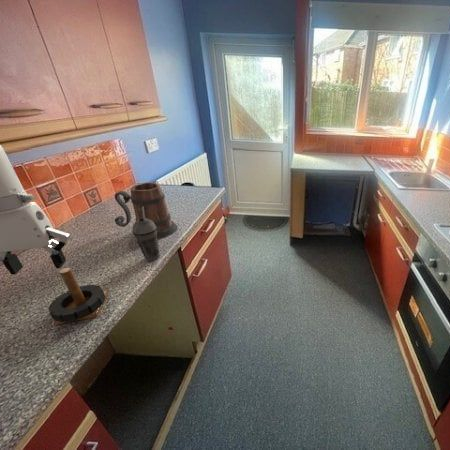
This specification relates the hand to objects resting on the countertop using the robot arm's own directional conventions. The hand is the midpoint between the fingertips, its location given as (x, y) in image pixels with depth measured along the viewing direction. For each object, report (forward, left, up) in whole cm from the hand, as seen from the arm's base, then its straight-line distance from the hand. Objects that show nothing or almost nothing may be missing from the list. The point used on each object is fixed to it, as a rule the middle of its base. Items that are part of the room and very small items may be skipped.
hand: (39, 267), depth 61 cm
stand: (+4, 0, -15) cm, 16 cm away
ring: (+4, 0, -14) cm, 14 cm away
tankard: (+14, +44, -15) cm, 48 cm away
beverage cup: (+18, +21, -15) cm, 32 cm away
